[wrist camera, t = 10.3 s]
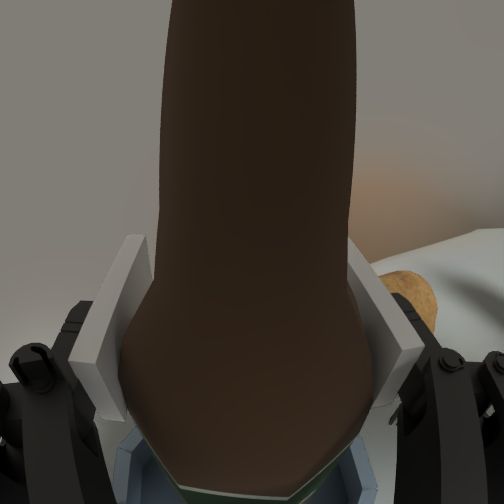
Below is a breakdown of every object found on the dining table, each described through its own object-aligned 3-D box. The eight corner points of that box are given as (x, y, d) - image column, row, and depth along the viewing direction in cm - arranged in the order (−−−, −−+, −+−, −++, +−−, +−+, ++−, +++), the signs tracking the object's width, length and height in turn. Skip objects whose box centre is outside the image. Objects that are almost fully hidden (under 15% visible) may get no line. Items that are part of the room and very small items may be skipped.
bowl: (328, 400, 24) (338, 373, 22) (374, 566, 10) (399, 561, 8) (141, 407, 22) (129, 380, 20) (128, 583, 9) (106, 583, 7)
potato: (288, 353, 29) (298, 288, 25) (376, 305, 36) (393, 248, 32) (356, 420, 22) (389, 360, 18) (436, 348, 29) (464, 290, 25)
